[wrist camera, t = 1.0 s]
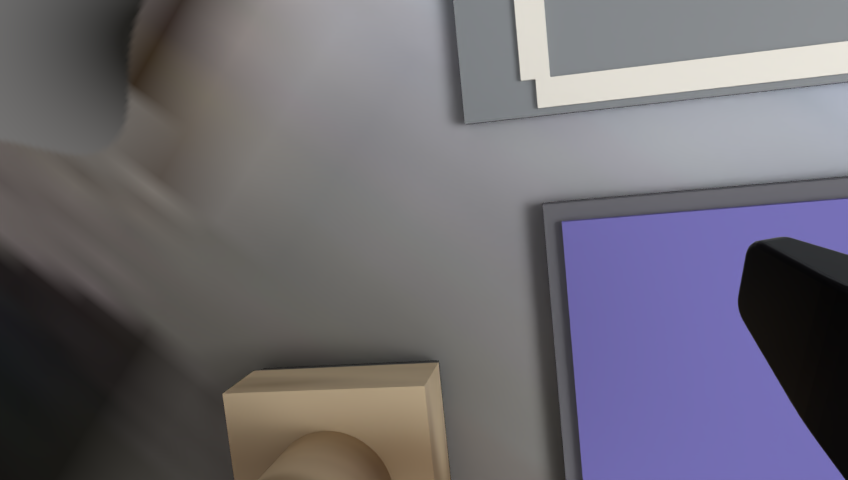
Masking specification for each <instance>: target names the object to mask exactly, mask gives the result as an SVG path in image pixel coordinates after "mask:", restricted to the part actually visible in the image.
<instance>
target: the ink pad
mask: <svg viewBox="0 0 848 480" xmlns="http://www.w3.org/2000/svg"><path fill="white" fill-rule="evenodd" d="M543 216H544V228H545V240H546V252H547V263H548V275H549V287H550V299H551V311H552V323H553V334H554V346H555V358H556V370H557V382H558V394H559V406H560V417H561V429H562V441H563V453H564V465H565V477H566V480H845V479H844V478H843V476H842V475H841V473H840V472H839V471H838V469H837V468H836V467H835V465H834V464H833V463H832V461H831V460H830V459H829V457H828V456H827V454H826V453H825V452H824V450H823V449H822V448H821V446H820V445H819V444H818V442H817V441H816V440H815V438H814V437H813V435H812V434H811V432H810V431H809V430H808V428H807V427H806V425H805V424H804V422H803V421H802V419H801V418H800V416H799V415H798V413H797V411H796V410H795V408H794V407H793V405H792V403H791V402H790V400H789V398H788V397H787V395H786V393H785V392H784V390H783V388H782V386H781V385H780V383H779V381H778V380H777V378H776V376H775V375H774V373H773V371H772V369H771V368H770V366H769V364H768V363H767V361H766V359H765V358H764V356H763V354H762V352H761V351H760V349H759V347H758V346H757V344H756V342H755V341H754V339H753V337H752V335H751V334H750V332H749V330H748V329H747V327H746V325H745V324H744V322H743V320H742V318H741V315H740V313H739V309H738V294H739V288H740V283H741V277H742V272H743V266H744V261H745V255H746V252H747V249H748V248H749V246H750V245H751V244H752V243H754V242H755V241H759V240H765V239H770V238H776V237H791V238H794V239H797V240H801V241H804V242H807V243H811V244H814V245H817V246H821V247H824V248H828V249H831V250H834V251H838V252H841V253H844V254H848V176H847V177H836V178H824V179H813V180H801V181H790V182H778V183H767V184H755V185H744V186H732V187H721V188H709V189H698V190H686V191H675V192H663V193H651V194H640V195H628V196H617V197H605V198H594V199H582V200H571V201H559V202H548V203H543Z"/></svg>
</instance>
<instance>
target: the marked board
mask: <svg viewBox="0 0 848 480" xmlns="http://www.w3.org/2000/svg"><path fill="white" fill-rule="evenodd" d="M453 5H454V16H455V26H456V37H457V47H458V58H459V68H460V79H461V89H462V100H463V110H464V121H465V124H475V123H484V122H493V121H502V120H511V119H520V118H529V117H538V116H547V115H556V114H565V113H574V112H583V111H592V110H601V109H610V108H619V107H628V106H637V105H646V104H655V103H664V102H673V101H682V100H691V99H700V98H709V97H719V96H728V95H737V94H746V93H755V92H764V91H773V90H782V89H791V88H800V87H809V86H818V85H827V84H836V83H845V82H848V0H453Z"/></svg>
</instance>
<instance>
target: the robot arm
mask: <svg viewBox="0 0 848 480" xmlns="http://www.w3.org/2000/svg"><path fill="white" fill-rule="evenodd" d="M738 309H739V313H740V315H741V318H742V320H743V322H744V324H745V325H746V327H747V329H748V330H749V332H750V334H751V335H752V337H753V339H754V341H755V342H756V344H757V346H758V347H759V349H760V351H761V352H762V354H763V356H764V358H765V359H766V361H767V363H768V364H769V366H770V368H771V369H772V371H773V373H774V375H775V376H776V378H777V380H778V381H779V383H780V385H781V386H782V388H783V390H784V392H785V393H786V395H787V397H788V398H789V400H790V402H791V403H792V405H793V407H794V408H795V410H796V411H797V413H798V415H799V416H800V418H801V419H802V421H803V422H804V424H805V425H806V427H807V428H808V430H809V431H810V432H811V434H812V435H813V437H814V438H815V440H816V441H817V442H818V444H819V445H820V446H821V448H822V449H823V450H824V452H825V453H826V454H827V456H828V457H829V459H830V460H831V461H832V463H833V464H834V465H835V467H836V468H837V469H838V471H839V472H840V473H841V475H842V476H843V478H844V479H845V480H848V254H844V253H841V252H838V251H834V250H831V249H828V248H824V247H821V246H817V245H814V244H811V243H807V242H804V241H801V240H797V239H794V238H791V237H776V238H770V239H765V240H759V241H755V242H754V243H752V244H751V245H750V246H749V248H748V249H747V252H746V255H745V261H744V266H743V272H742V277H741V283H740V288H739V294H738Z"/></svg>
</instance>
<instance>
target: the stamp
mask: <svg viewBox="0 0 848 480" xmlns="http://www.w3.org/2000/svg"><path fill="white" fill-rule="evenodd" d="M222 395H223V402H224V409H225V416H226V424H227V431H228V438H229V445H230V453H231V460H232V467H233V474H234V480H451V475H450V466H449V456H448V446H447V436H446V427H445V417H444V407H443V398H442V388H441V378H440V368H439V361H419V362H396V363H374V364H352V365H330V366H307V367H285V368H264V369H263V370H258V371H253V372H251V373H250V374H249V375H247V376H246V377H245V378H243V379H242V380H241V381H239V382H238V383H236V384H235V385H234V386H232V387H231V388H230V389H228V390H227V391H225V392H224V393H223V394H222Z"/></svg>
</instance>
